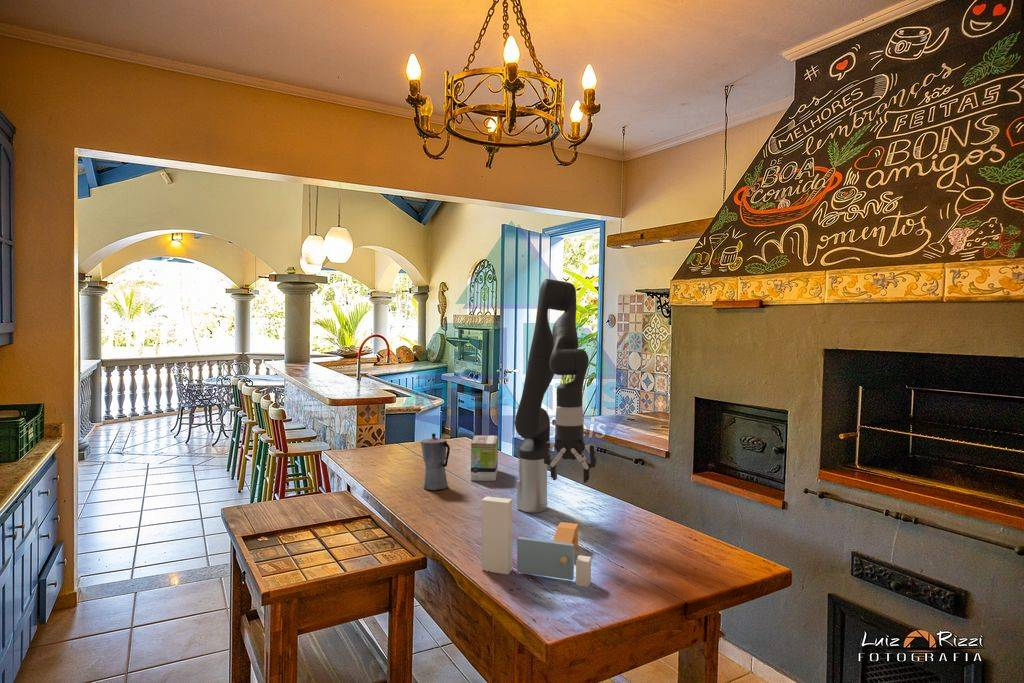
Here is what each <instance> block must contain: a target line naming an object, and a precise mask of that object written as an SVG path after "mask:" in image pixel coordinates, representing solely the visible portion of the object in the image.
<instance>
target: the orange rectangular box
mask: <svg viewBox="0 0 1024 683" xmlns="http://www.w3.org/2000/svg"><path fill="white" fill-rule="evenodd" d="M552 541H555V542H563V543H570V544H574V553H575V552H576V549H577V548H578V547H579V523H572V522H563V521H561V522H559V524H558V525H557V527H556V530H555V534H554V537H553V540H552Z"/></svg>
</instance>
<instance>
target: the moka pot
mask: <svg viewBox="0 0 1024 683" xmlns="http://www.w3.org/2000/svg"><path fill="white" fill-rule="evenodd" d="M436 435H437V434H436V433H435V432H434V433H431V437H430V438H424V439H422V440H421V441H420V445H421V451H422V457H423V462H424V467H425V468H424V477H423V489H424V488H425V490H428V491H438V490H445V489H447V488H448V487H449V486H448V485H449V484H448V480H447V473H446V467H448V460H449V457H450V450H451V446H450V445H449V444H448V441H447V440H446V439H445V438H439V437H436Z"/></svg>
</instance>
